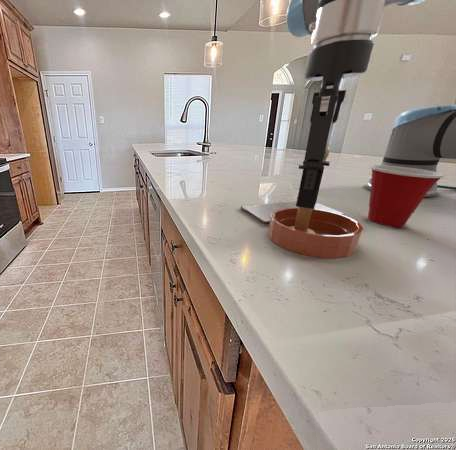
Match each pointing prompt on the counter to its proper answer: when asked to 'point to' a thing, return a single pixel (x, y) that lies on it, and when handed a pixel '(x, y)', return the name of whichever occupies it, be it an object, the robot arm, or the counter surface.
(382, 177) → the plastic cup
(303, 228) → the stirrer
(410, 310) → the counter surface
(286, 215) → the bowl
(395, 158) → the robot arm
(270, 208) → the board
